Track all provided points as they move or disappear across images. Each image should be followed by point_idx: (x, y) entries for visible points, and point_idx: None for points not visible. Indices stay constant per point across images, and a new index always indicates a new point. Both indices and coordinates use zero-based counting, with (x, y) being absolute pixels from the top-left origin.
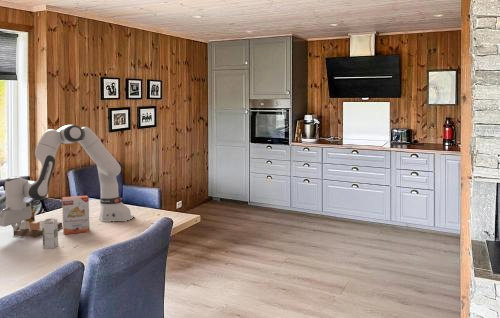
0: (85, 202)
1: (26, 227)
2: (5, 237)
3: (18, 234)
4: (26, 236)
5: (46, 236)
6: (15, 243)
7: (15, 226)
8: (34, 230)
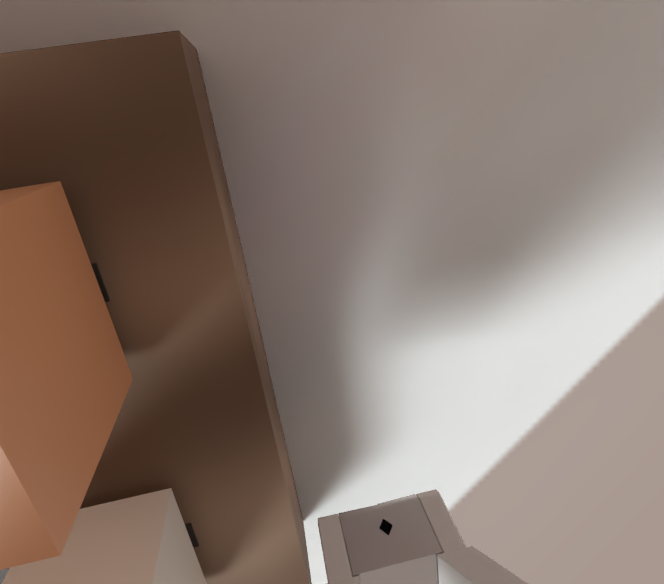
0: None
1: (130, 530)
2: None
3: (289, 475)
4: (254, 312)
5: None
6: (644, 127)
7: (500, 582)
8: None
